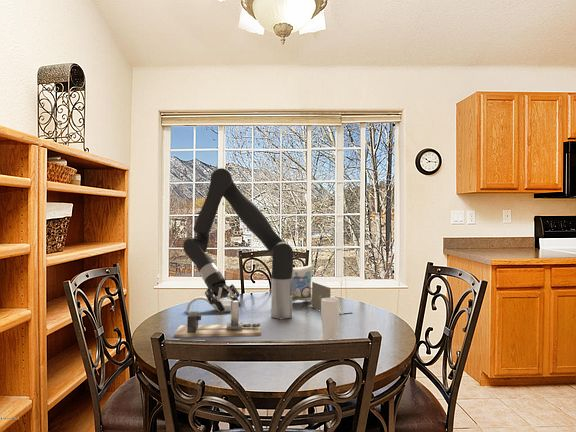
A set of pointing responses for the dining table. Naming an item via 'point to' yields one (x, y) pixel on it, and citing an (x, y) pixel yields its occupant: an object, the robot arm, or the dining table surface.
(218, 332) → the tensioner rail
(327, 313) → the drinking glass
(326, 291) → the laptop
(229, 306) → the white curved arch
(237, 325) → the chain handle
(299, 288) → the pouch
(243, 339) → the dining table surface
